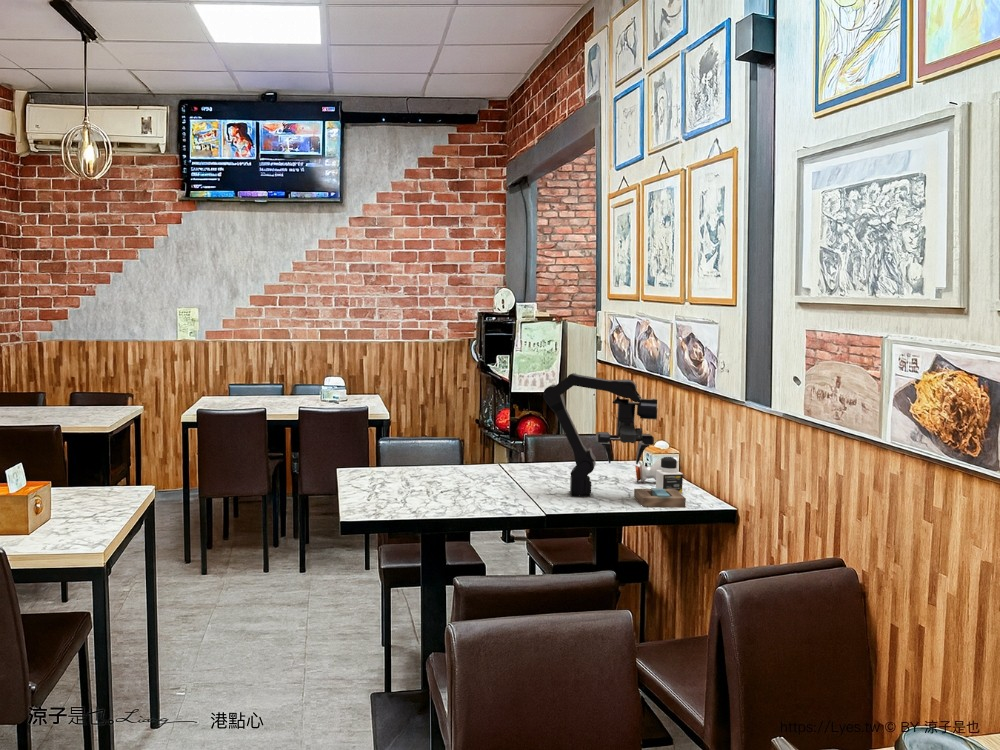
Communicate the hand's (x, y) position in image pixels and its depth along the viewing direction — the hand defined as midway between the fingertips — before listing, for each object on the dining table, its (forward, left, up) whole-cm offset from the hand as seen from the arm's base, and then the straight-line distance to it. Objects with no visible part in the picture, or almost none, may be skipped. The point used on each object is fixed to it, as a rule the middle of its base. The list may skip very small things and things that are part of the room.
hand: (623, 463), depth 307 cm
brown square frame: (+11, -7, -12) cm, 17 cm away
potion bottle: (+17, +23, -12) cm, 31 cm away
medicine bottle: (+18, +9, -12) cm, 23 cm away
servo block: (+11, -7, -12) cm, 18 cm away
